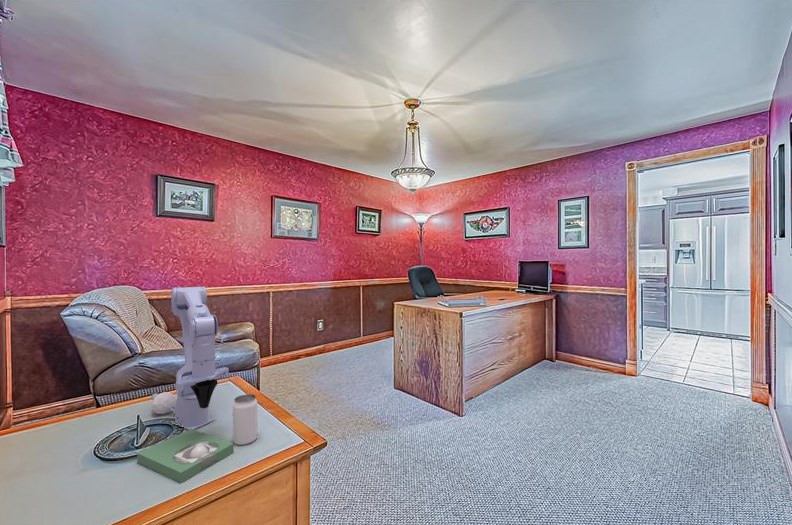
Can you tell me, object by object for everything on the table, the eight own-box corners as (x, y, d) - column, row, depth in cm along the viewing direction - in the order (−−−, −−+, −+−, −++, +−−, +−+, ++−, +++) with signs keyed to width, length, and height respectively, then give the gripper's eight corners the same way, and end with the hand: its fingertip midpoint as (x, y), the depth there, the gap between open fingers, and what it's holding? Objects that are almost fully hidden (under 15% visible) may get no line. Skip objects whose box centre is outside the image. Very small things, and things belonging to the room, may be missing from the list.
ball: (199, 461, 85) (189, 469, 86) (213, 455, 89) (204, 462, 90) (193, 446, 86) (184, 454, 87) (207, 440, 90) (198, 447, 91)
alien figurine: (185, 416, 118) (161, 400, 122) (189, 398, 117) (166, 382, 121) (163, 427, 111) (139, 409, 115) (168, 407, 110) (144, 390, 114)
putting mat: (137, 462, 88) (137, 453, 88) (190, 437, 101) (190, 428, 101) (181, 483, 80) (181, 472, 80) (233, 452, 93) (233, 443, 93)
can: (248, 447, 95) (248, 403, 95) (227, 444, 97) (227, 401, 96) (262, 435, 102) (261, 394, 101) (242, 433, 103) (242, 392, 103)
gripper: (187, 368, 89) (187, 420, 89) (235, 354, 102) (235, 400, 102) (170, 364, 92) (171, 415, 93) (219, 351, 105) (219, 396, 106)
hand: (204, 407), depth 98 cm, fingers closed
